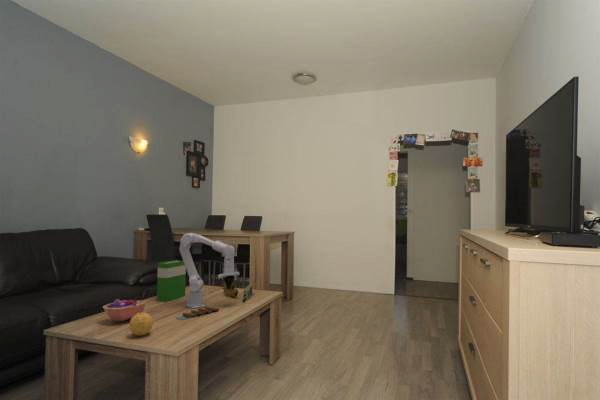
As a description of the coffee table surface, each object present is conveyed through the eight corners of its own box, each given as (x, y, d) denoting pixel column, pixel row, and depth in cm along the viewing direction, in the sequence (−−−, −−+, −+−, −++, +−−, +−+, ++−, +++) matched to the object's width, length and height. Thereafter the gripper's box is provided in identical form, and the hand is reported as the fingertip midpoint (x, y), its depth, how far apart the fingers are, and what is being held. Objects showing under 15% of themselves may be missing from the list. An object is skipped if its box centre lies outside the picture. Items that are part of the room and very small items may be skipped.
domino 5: (218, 311, 199) (210, 310, 194) (213, 309, 202) (204, 308, 197) (219, 308, 199) (210, 308, 195) (213, 307, 202) (205, 306, 198)
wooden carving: (240, 298, 230) (240, 282, 231) (235, 299, 227) (235, 283, 227) (225, 294, 241) (225, 279, 242) (219, 295, 238) (220, 280, 238)
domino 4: (211, 312, 195) (203, 312, 191) (206, 311, 198) (197, 310, 194) (212, 310, 195) (203, 309, 191) (206, 309, 198) (198, 308, 194)
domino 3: (205, 314, 192) (196, 314, 187) (200, 313, 195) (190, 312, 191) (205, 312, 192) (196, 311, 188) (200, 310, 195) (191, 310, 191)
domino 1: (191, 319, 186) (181, 321, 181) (186, 317, 189) (176, 319, 184) (191, 317, 186) (181, 319, 181) (186, 315, 189) (176, 317, 184)
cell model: (150, 320, 181) (150, 298, 182) (107, 328, 168) (107, 304, 169) (139, 313, 194) (140, 292, 195) (99, 320, 181) (99, 297, 182)
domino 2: (197, 316, 188) (187, 317, 184) (192, 314, 191) (182, 315, 187) (197, 314, 188) (187, 314, 184) (192, 312, 192) (182, 313, 187)
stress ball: (141, 330, 165) (141, 308, 165) (157, 333, 161) (158, 311, 162) (123, 337, 156) (124, 314, 156) (140, 340, 152) (141, 316, 153)
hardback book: (176, 295, 237) (177, 259, 238) (185, 296, 234) (185, 260, 236) (156, 301, 221) (157, 263, 222) (166, 302, 218) (166, 263, 219)
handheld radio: (253, 294, 243) (246, 303, 218) (248, 294, 244) (240, 303, 219) (252, 284, 244) (245, 292, 219) (248, 284, 244) (240, 292, 219)
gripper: (223, 267, 203) (223, 291, 202) (242, 265, 214) (242, 287, 213) (216, 266, 207) (215, 289, 207) (235, 264, 218) (235, 286, 218)
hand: (228, 288), depth 210 cm, fingers closed
